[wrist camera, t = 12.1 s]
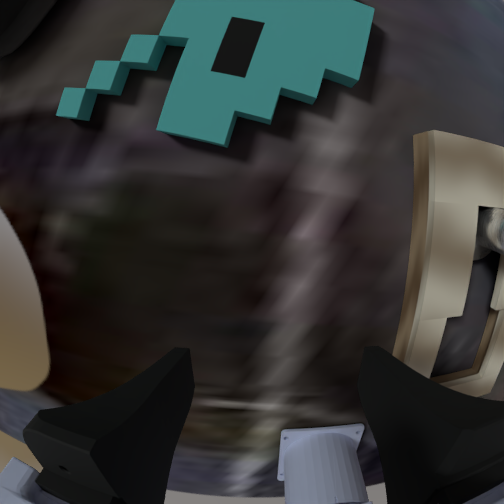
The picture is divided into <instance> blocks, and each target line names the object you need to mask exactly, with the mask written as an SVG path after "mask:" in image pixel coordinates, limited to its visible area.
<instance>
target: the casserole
mask: <svg viewBox="0 0 504 504" xmlns="http://www.w3.org/2000/svg"><path fill="white" fill-rule="evenodd" d="M56 2H57V0H0V57H3V56H6V55H9V54H11V53H12V52H13V51H15V50H16V49H17V48H18V47H20V46H21V45H22V44H23V42H24V41H25V40H26V39H27V38H28V37H29V36H30V35H31V34H32V32H33V31H34V30H35V29H36V27H37V26H38V25H39V24H40V23H41V21H42V20H43V19H44V18H45V16H46V15H47V13H48V12H49V11H50V10H51V8H52V7H53V6H54V4H55V3H56Z"/></svg>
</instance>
